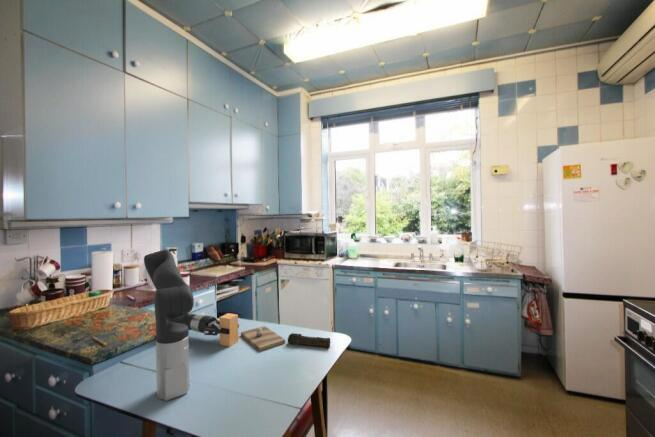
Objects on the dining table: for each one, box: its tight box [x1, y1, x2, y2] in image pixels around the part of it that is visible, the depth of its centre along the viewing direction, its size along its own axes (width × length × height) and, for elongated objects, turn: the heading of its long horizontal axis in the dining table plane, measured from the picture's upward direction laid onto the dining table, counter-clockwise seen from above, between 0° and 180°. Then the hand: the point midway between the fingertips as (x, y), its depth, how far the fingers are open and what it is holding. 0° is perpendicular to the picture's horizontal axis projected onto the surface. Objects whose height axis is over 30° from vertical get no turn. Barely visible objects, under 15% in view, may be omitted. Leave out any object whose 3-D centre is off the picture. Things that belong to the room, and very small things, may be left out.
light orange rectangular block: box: [219, 312, 239, 347], centre depth 124 cm, size 5×5×12 cm
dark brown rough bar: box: [287, 332, 331, 349], centre depth 122 cm, size 19×4×5 cm, turn 75°
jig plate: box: [240, 325, 286, 352], centre depth 128 cm, size 20×12×5 cm, turn 39°
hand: (233, 329), depth 123 cm, fingers closed on light orange rectangular block, 5 cm apart
